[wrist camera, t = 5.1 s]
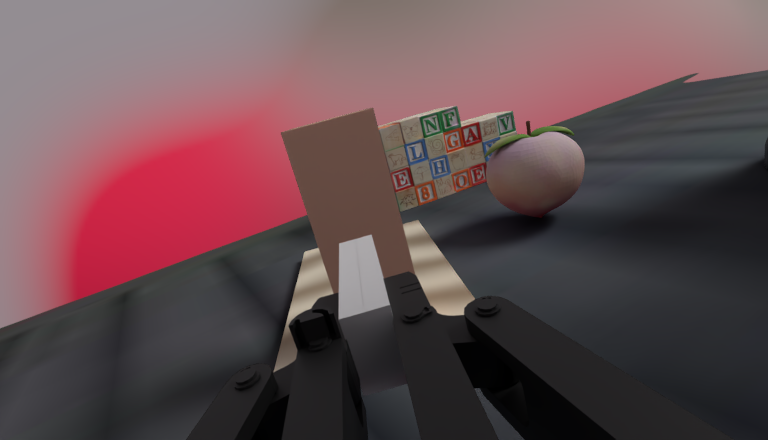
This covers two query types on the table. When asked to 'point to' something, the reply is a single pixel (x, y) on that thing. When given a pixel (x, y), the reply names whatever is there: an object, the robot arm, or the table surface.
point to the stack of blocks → (440, 152)
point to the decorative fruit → (535, 170)
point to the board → (429, 268)
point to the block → (348, 190)
